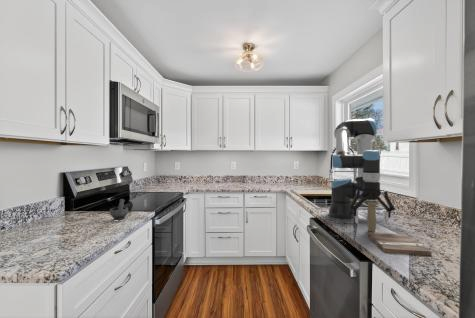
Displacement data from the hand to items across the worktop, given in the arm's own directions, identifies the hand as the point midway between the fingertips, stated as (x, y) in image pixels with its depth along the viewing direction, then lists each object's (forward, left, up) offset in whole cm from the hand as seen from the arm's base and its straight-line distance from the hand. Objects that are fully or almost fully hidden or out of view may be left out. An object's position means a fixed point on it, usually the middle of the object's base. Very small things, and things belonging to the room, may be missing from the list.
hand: (371, 223), depth 119 cm
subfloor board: (+18, +4, -4) cm, 19 cm away
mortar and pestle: (+5, -141, -4) cm, 141 cm away
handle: (0, 0, -4) cm, 4 cm away
